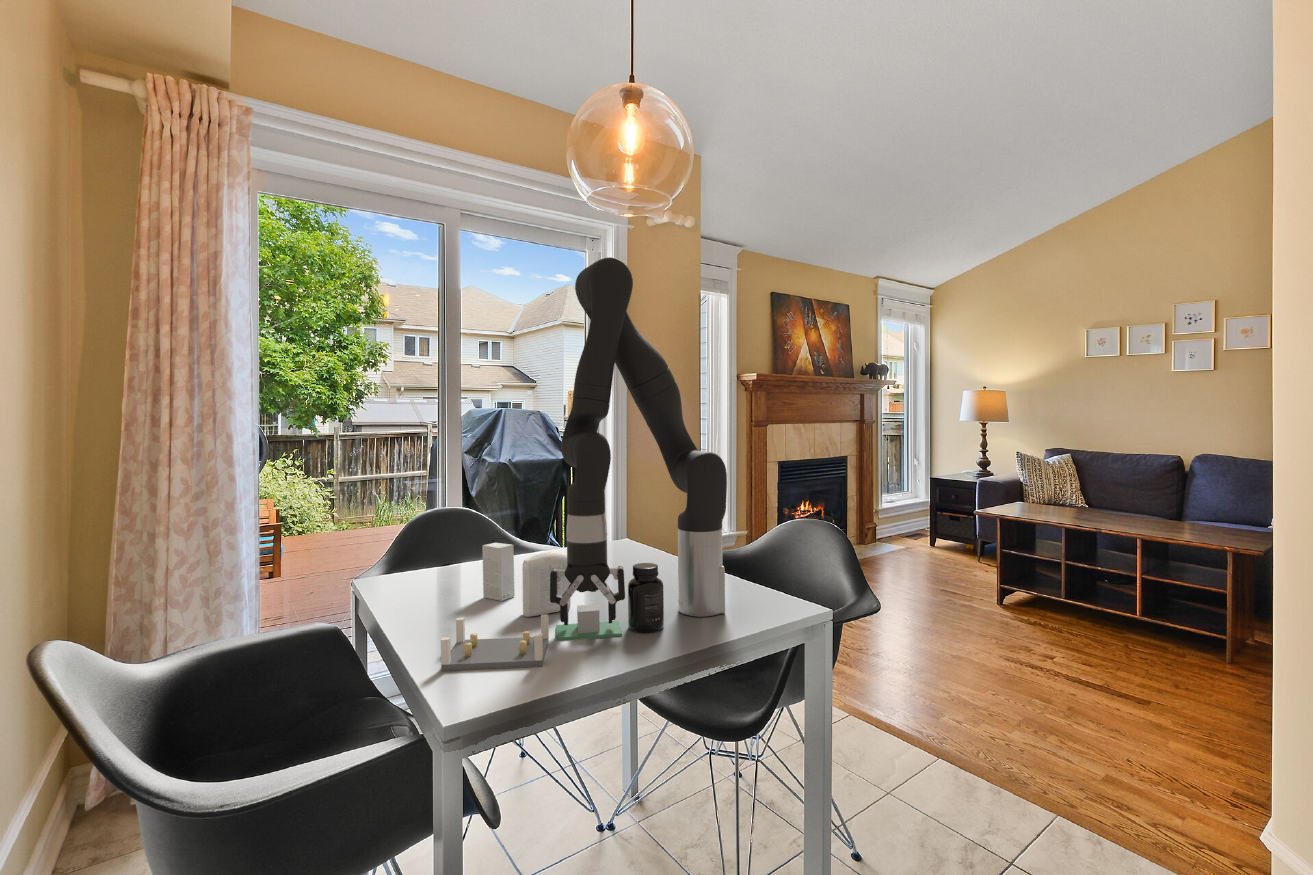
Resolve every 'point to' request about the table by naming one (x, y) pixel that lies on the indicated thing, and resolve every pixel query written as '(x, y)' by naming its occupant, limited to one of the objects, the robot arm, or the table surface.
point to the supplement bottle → (645, 599)
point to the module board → (573, 631)
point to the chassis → (494, 650)
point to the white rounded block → (542, 583)
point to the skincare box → (498, 571)
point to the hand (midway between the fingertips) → (588, 622)
